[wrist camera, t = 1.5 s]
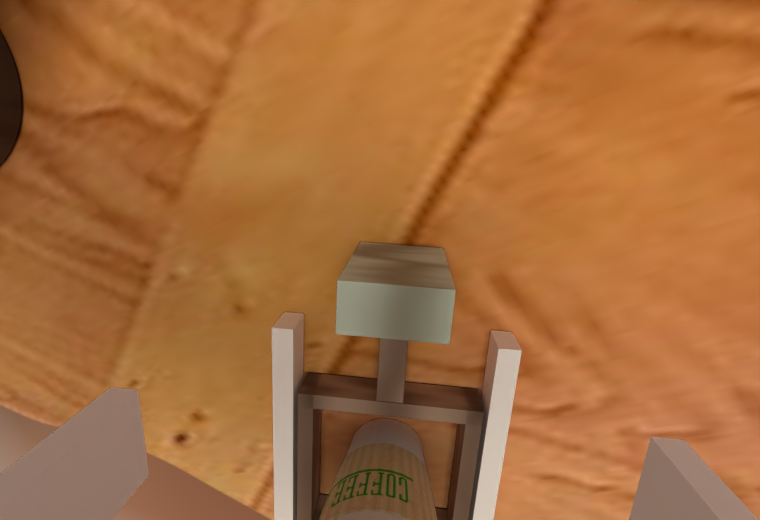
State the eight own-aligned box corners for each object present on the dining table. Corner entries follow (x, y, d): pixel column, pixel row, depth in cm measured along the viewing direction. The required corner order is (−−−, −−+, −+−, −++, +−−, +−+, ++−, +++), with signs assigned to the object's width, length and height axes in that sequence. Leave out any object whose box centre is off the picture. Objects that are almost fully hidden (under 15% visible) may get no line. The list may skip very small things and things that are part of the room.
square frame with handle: (306, 503, 37) (268, 626, 28) (309, 234, 30) (260, 273, 21) (459, 521, 36) (475, 655, 27) (497, 249, 30) (537, 296, 20)
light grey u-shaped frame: (285, 510, 38) (274, 539, 35) (284, 311, 32) (271, 327, 29) (479, 533, 37) (485, 566, 34) (511, 332, 31) (521, 350, 28)
